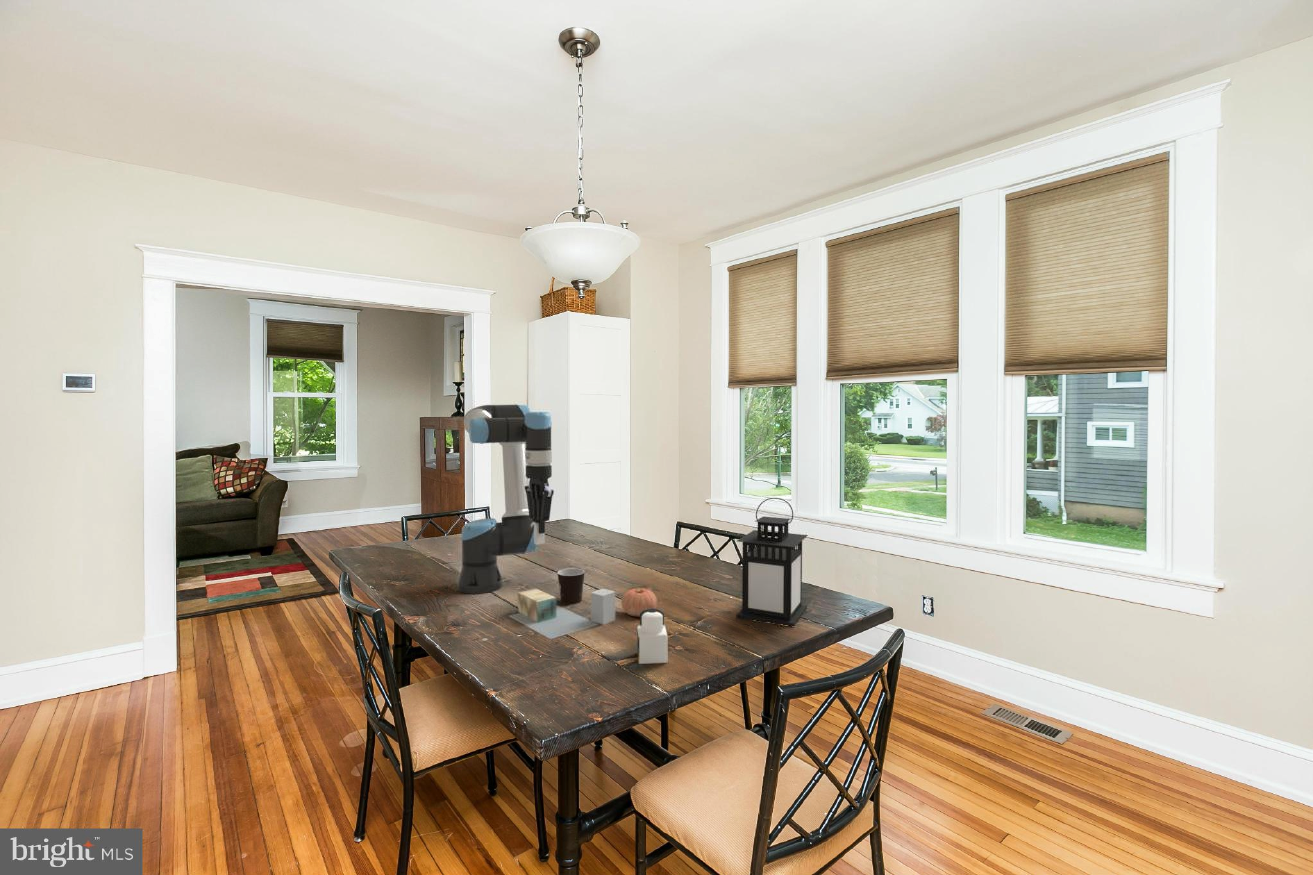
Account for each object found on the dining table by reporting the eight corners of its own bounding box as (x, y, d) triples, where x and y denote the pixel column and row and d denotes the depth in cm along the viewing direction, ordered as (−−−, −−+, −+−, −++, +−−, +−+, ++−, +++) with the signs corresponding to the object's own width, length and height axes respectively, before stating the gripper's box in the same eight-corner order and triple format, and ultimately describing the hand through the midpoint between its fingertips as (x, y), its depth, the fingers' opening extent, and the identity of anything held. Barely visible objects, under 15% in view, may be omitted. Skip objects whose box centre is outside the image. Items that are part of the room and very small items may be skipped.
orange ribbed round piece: (640, 606, 192) (640, 581, 192) (664, 614, 184) (664, 588, 184) (614, 614, 184) (613, 588, 184) (638, 624, 177) (638, 596, 176)
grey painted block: (591, 622, 178) (590, 592, 177) (602, 618, 182) (602, 588, 181) (603, 626, 175) (603, 595, 174) (615, 621, 178) (615, 591, 178)
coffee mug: (579, 607, 191) (579, 576, 190) (553, 606, 192) (553, 574, 192) (591, 596, 202) (590, 566, 201) (566, 594, 204) (566, 565, 203)
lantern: (736, 618, 181) (736, 501, 179) (753, 601, 197) (754, 493, 195) (793, 627, 174) (795, 505, 172) (807, 608, 189) (808, 497, 187)
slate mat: (508, 617, 182) (508, 615, 182) (554, 605, 193) (554, 604, 193) (550, 641, 164) (550, 638, 164) (598, 626, 175) (598, 624, 175)
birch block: (538, 622, 176) (518, 611, 185) (556, 617, 180) (535, 607, 189) (538, 602, 176) (518, 592, 185) (556, 597, 180) (535, 588, 189)
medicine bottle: (637, 652, 156) (637, 606, 156) (664, 651, 157) (664, 605, 156) (638, 664, 149) (638, 616, 149) (667, 663, 150) (667, 615, 149)
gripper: (516, 463, 181) (517, 541, 183) (538, 467, 172) (539, 549, 173) (538, 461, 186) (539, 537, 188) (561, 465, 176) (562, 545, 178)
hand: (539, 543), depth 180 cm, fingers closed
